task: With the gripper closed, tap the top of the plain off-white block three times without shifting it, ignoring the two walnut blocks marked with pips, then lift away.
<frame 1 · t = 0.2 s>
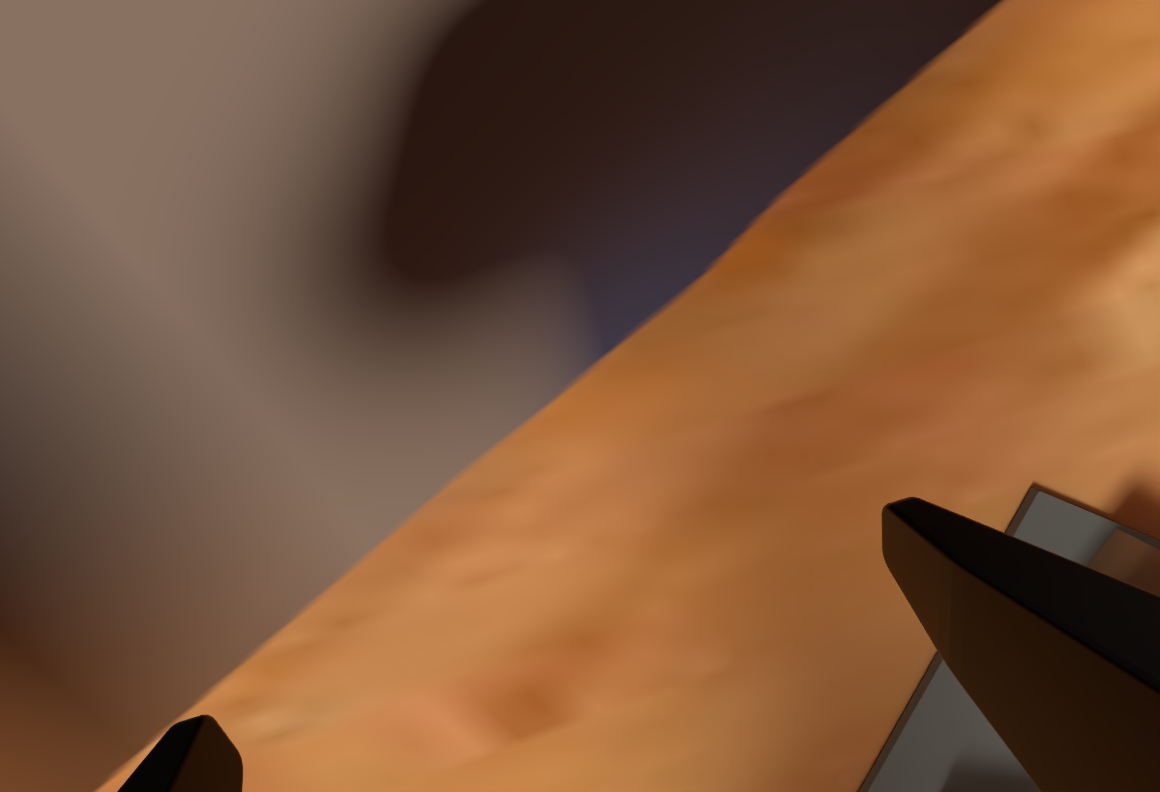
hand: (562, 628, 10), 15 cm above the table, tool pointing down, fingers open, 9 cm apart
pip block two: (1119, 606, 29), resting on mat
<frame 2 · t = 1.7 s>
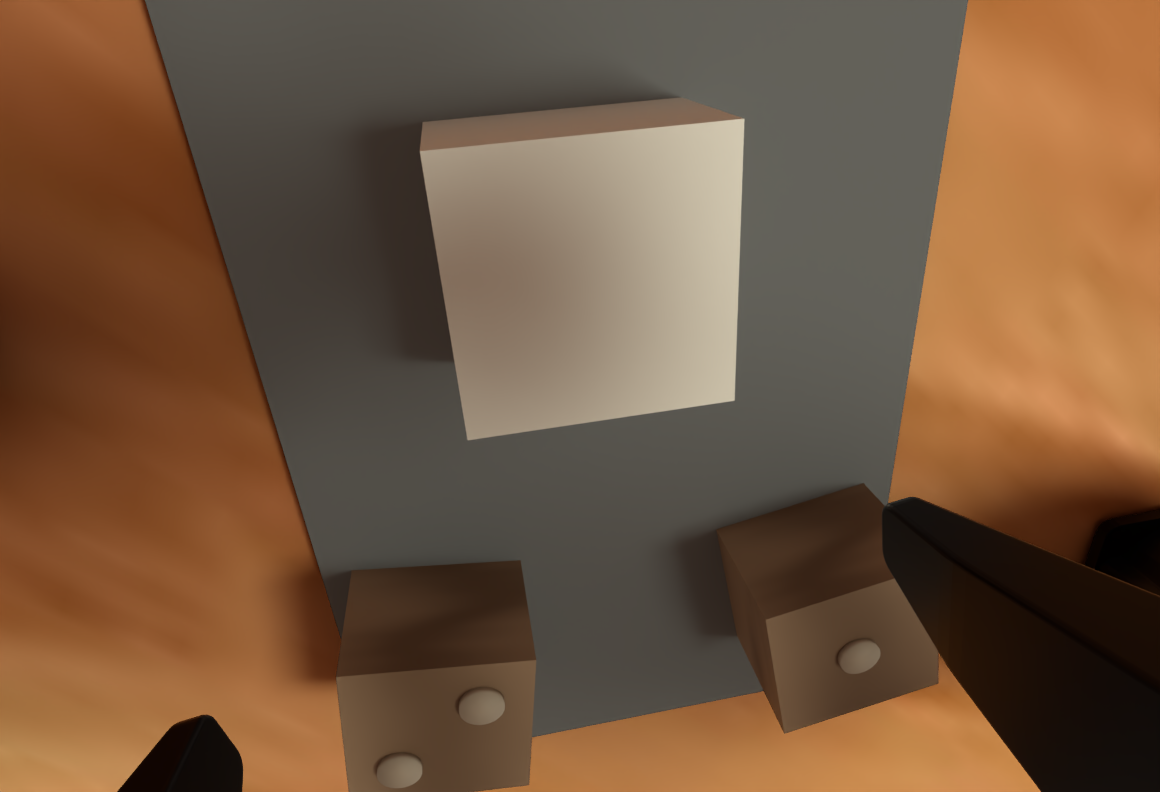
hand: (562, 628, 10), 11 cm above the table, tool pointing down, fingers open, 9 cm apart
mat: (610, 401, 21), on the table
pip block one: (797, 563, 25), resting on mat
plain block: (565, 237, 18), resting on mat
pip block two: (439, 627, 23), resting on mat
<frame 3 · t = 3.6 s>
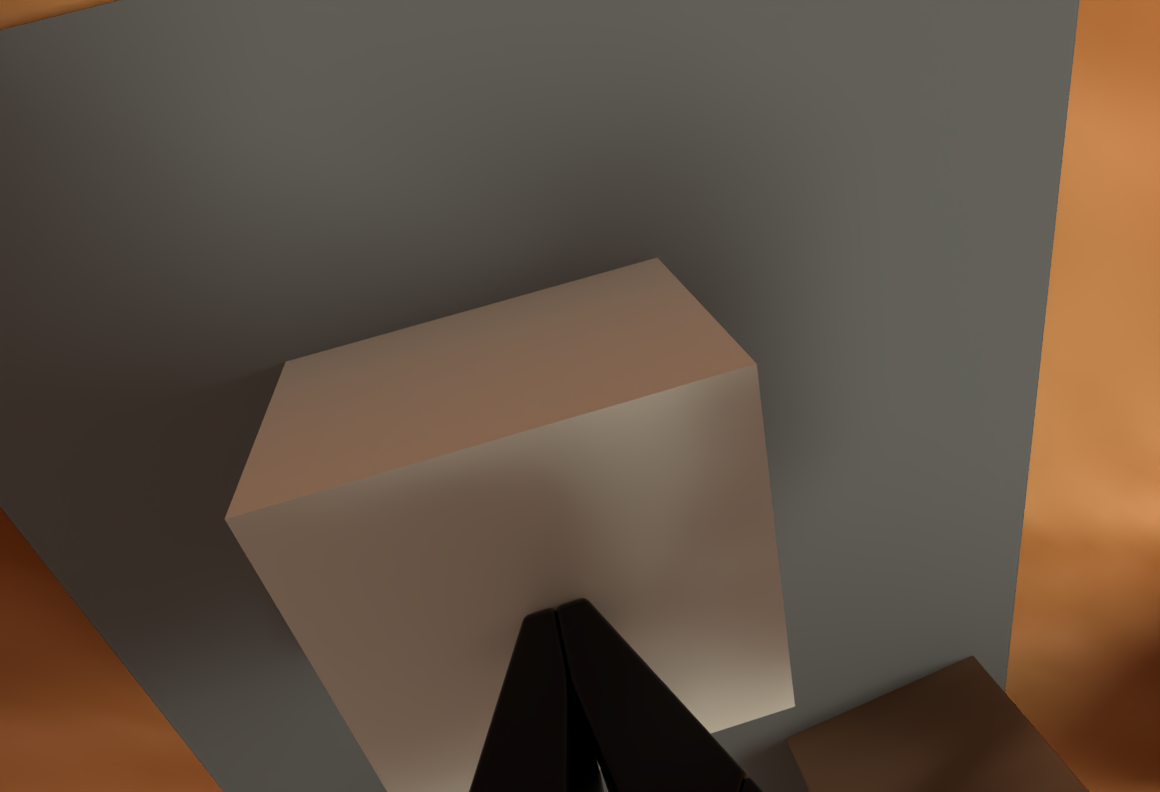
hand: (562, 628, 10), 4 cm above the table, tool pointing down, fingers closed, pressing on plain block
mat: (624, 624, 16), on the table
pip block one: (896, 752, 19), resting on mat
plain block: (522, 462, 13), resting on mat, touching gripper
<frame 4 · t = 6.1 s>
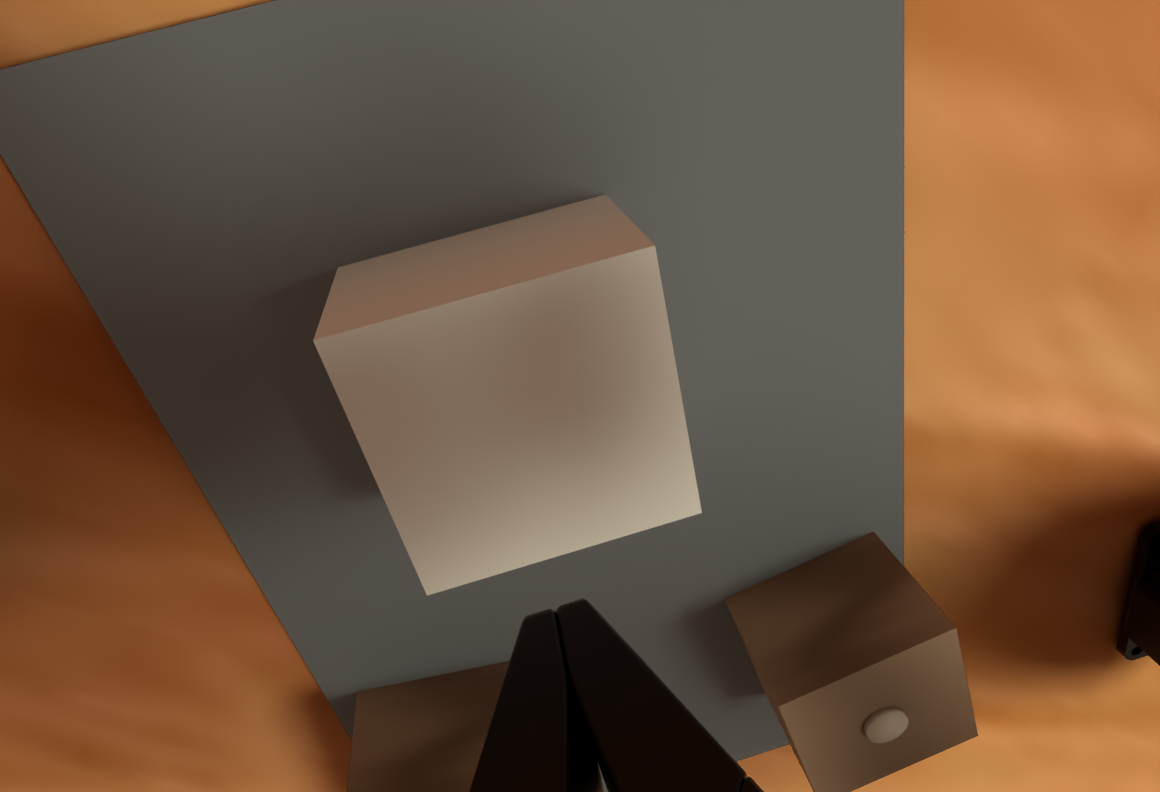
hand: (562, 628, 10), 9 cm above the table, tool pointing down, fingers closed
mat: (590, 493, 20), on the table
pip block one: (816, 617, 24), resting on mat
plain block: (509, 351, 17), resting on mat
pip block two: (456, 729, 23), resting on mat
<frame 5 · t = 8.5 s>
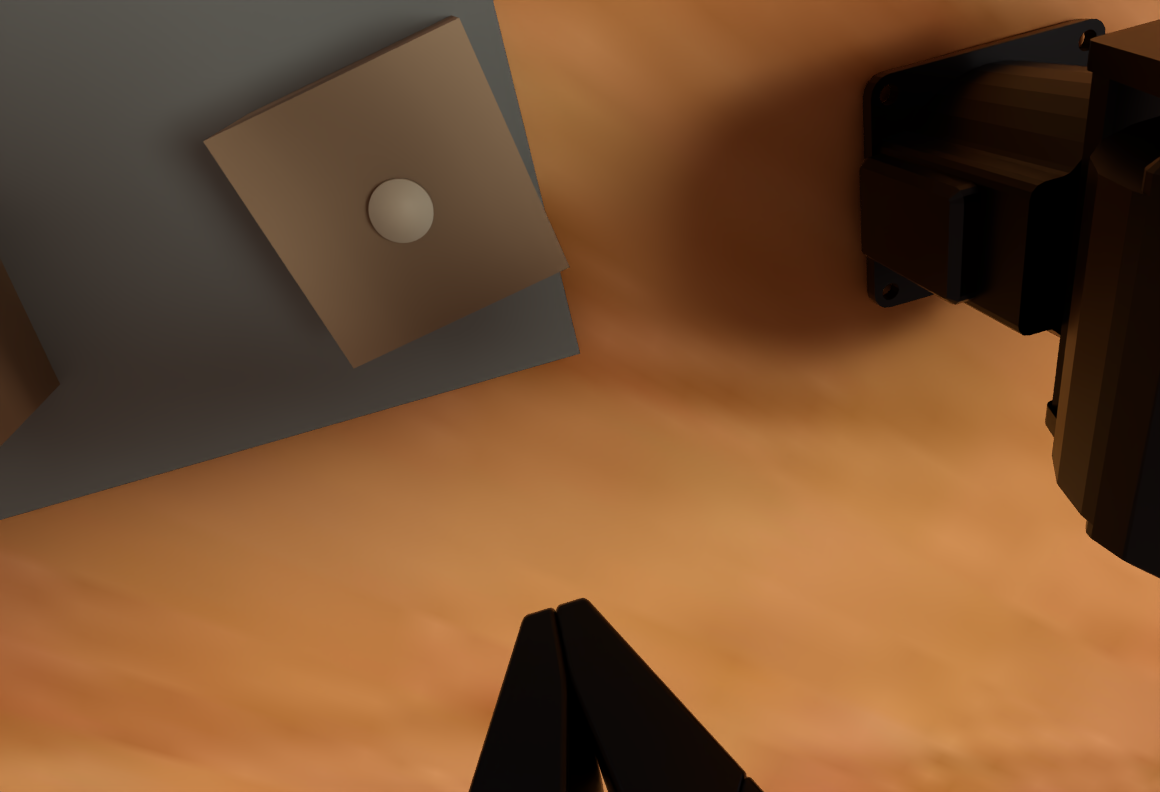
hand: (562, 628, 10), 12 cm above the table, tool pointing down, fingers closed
pip block one: (405, 169, 18), resting on mat
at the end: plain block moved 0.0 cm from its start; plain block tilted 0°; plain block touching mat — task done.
